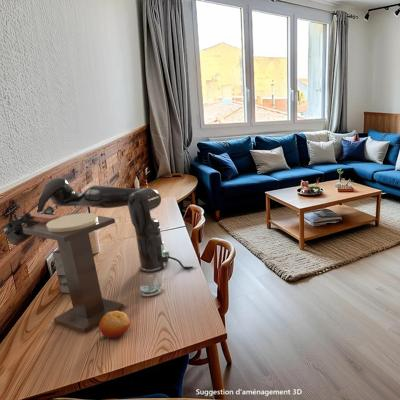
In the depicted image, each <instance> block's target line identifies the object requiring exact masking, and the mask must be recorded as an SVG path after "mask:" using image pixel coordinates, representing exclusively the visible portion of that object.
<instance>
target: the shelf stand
mask: <svg viewBox="0 0 400 400" xmlns="http://www.w3.org/2000/svg"><path fill="white" fill-rule="evenodd" d="M79 213H80V212H78V211H73V212H71V213H67V214H64V215H61V216H60V217H62V216H66V215H72V214H79ZM97 216H98V222H97V223H95V224H93V225H91V226H89V227H86V228H83V229H79V230H74V231H67V232H51V231H48V230H47V227H46V224H47V222H42V223H39V224H35V225H32V226H29V227H26V228H23V233H24V234H29V235H33V236H35V237H38V238H42V239H43V238H44V239H47V240H53V241H56V243H57V246H58V249H59V251H60V255H61V259H62V263H63V268H64V272H65V276H66V280H67V284H68V289H69V293H68V294H69V298H70V301H71V305H72V308H69V309H68V310H66V311H65V312H63V313H60V314H59V315H58V316H55V317H54V318H53V322H54V323H55V324H58V325H61V326H64V327H67V328H69V329H72V330H75V331H78V332H81V333H84V334H87V333H88V332H89V331H91V330H92V329H94V328H95V327H97V326H99V324H100V321H101V319H102V317H103V316H104V315H105V314H106V313H108V312H112V311H120V312H121V310H123V309H124V308H125V306H124V304H123V303H122V302H118V301H115V300H111V299H108V298H104V297H103V296H102V291H101V286H100V281H99V277H98V272H97V268H96V262H95V256H94V252H93V248H92V243H91V237H90V233H92V232H95V231H97V230H100V229H104V228H105V227H108V226H110V225H113V224H116V218H115V217H109V216H104V215H103V216H102V215H97Z"/></svg>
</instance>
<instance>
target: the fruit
mask: <svg viewBox="0 0 400 400" xmlns="http://www.w3.org/2000/svg"><path fill="white" fill-rule="evenodd" d="M130 324H131V321H130V318H129V316H128V314H127V313H125V312H124V311H121V310H120V311H112V312H108V313H106V314H105V315H104V316H103V317H102V319H101V321H100V324H98V326H99V331H100V333H101V334H102V337H101V340H102V339H104V338H107V339H119V338H121V337H122V336H124V334H125V333H126V332H127V331H128V329H129V327H130Z"/></svg>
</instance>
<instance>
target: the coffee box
mask: <svg viewBox="0 0 400 400" xmlns="http://www.w3.org/2000/svg"><path fill="white" fill-rule="evenodd" d="M51 253H52V257H53V261H54V262H53V263H54V266H55V270H56V275H57V280H58V284H59V287H60V292H61V293H66V294H70V293H69V289H68V284H67V280H66V276H65V272H64V268H63V263H62V259H61V255H60V251H59V248H58V249H56V250H54V251H52V252H51Z"/></svg>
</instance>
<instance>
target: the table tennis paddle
mask: <svg viewBox="0 0 400 400" xmlns="http://www.w3.org/2000/svg"><path fill="white" fill-rule="evenodd" d="M30 215H31V216H32V219H31V221H39V222H47V224H46V227H47V230H48V231H51V232H67V231H74V230H79V229H83V228H86V227H89V226H91V225H93V224H95V223H97V222H98V216H99V215H97V214H96V213H92V212H79V214H72V215H67V214H65V215H66V216H64V215H61V216H62V217H61V216H60V215H58V214H57V215H56V214H55V215H48V214H39V213H30Z"/></svg>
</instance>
